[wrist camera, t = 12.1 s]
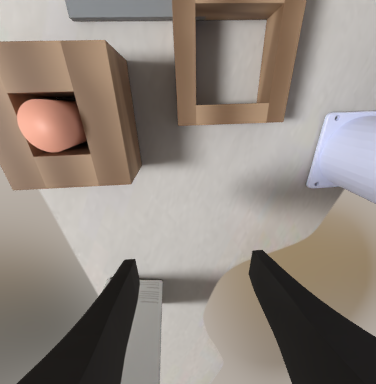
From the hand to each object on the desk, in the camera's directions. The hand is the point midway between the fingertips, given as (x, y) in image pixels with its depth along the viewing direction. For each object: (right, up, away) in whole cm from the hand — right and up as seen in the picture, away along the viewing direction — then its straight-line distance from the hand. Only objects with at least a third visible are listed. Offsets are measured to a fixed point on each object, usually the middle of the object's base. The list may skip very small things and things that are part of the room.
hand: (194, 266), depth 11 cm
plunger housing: (-10, +11, +5) cm, 16 cm away
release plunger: (-10, +11, +5) cm, 15 cm away
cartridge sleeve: (+3, +16, +4) cm, 16 cm away
